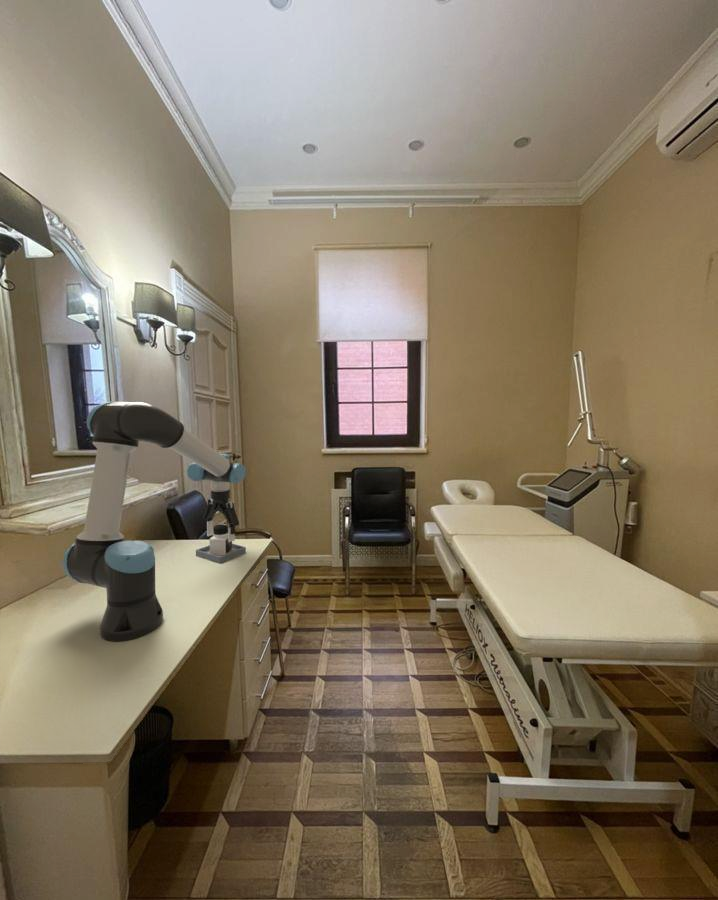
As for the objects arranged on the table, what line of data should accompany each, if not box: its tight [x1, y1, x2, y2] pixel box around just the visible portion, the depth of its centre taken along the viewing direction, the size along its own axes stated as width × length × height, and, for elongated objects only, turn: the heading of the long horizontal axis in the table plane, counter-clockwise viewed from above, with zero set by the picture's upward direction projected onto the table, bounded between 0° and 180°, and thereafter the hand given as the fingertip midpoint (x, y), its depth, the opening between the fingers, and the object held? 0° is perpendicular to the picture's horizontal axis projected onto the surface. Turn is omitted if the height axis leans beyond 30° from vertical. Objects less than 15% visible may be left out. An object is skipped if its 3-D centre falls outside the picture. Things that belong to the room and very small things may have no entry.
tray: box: [195, 542, 247, 564], centre depth 156 cm, size 14×15×2 cm
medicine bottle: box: [209, 523, 233, 555], centre depth 156 cm, size 7×7×12 cm
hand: (220, 538), depth 156 cm, fingers open, 13 cm apart
